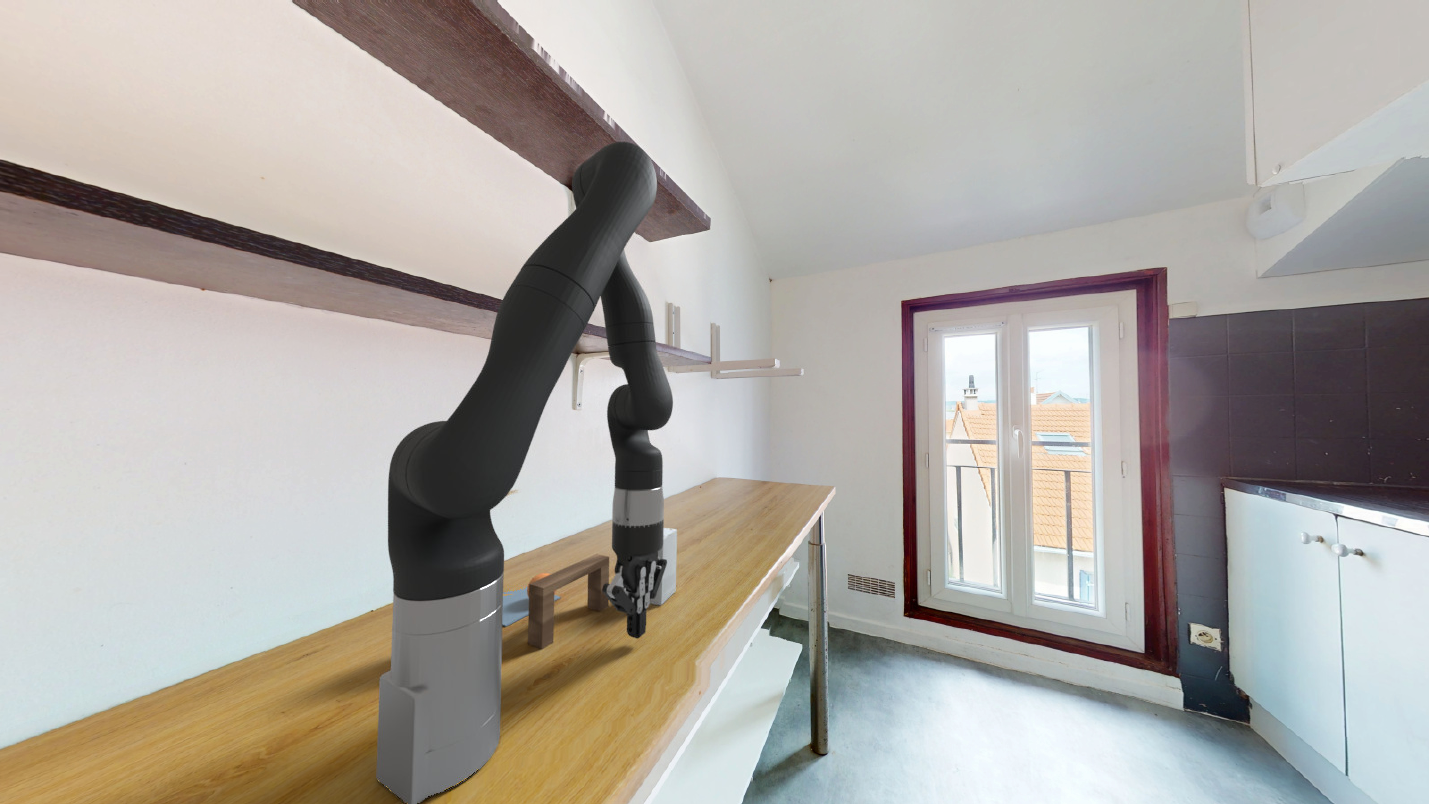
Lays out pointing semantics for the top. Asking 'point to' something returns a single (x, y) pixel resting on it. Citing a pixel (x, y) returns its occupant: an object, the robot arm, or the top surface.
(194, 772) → the top surface
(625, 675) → the top surface
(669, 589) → the skincare box
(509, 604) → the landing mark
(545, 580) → the bridge
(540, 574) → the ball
